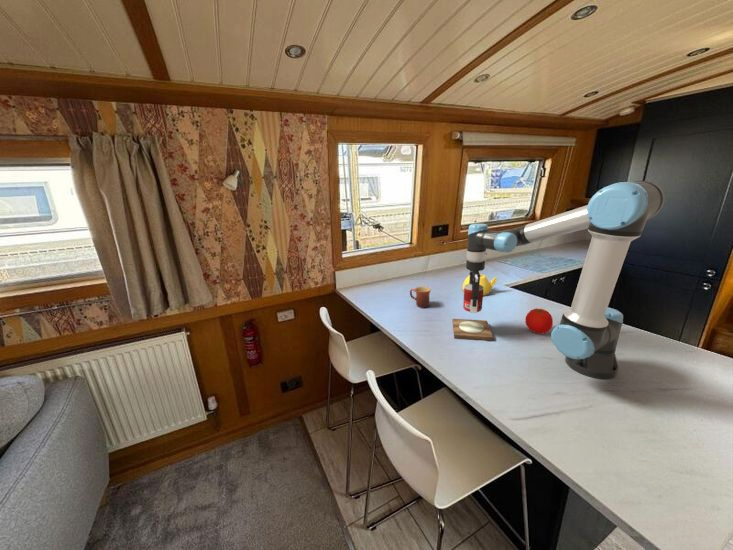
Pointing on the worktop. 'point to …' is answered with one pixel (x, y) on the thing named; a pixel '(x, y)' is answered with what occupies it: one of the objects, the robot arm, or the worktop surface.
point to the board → (472, 329)
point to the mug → (421, 296)
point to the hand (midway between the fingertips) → (472, 308)
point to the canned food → (469, 295)
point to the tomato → (539, 321)
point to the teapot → (482, 283)
